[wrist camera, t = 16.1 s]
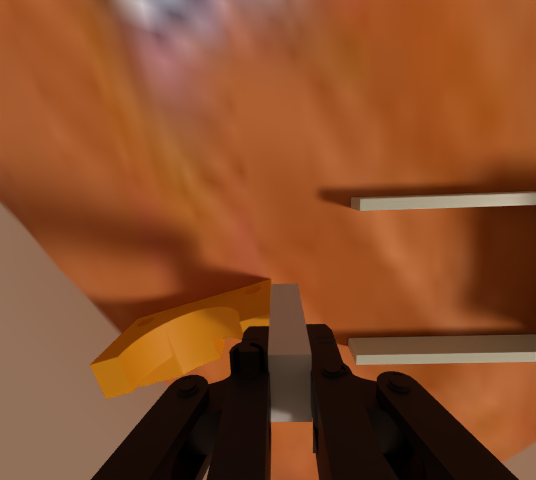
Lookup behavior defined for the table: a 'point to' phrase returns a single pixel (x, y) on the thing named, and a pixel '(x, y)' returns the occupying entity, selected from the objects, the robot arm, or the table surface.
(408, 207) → the frame
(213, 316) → the pipe clamp
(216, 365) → the table surface
